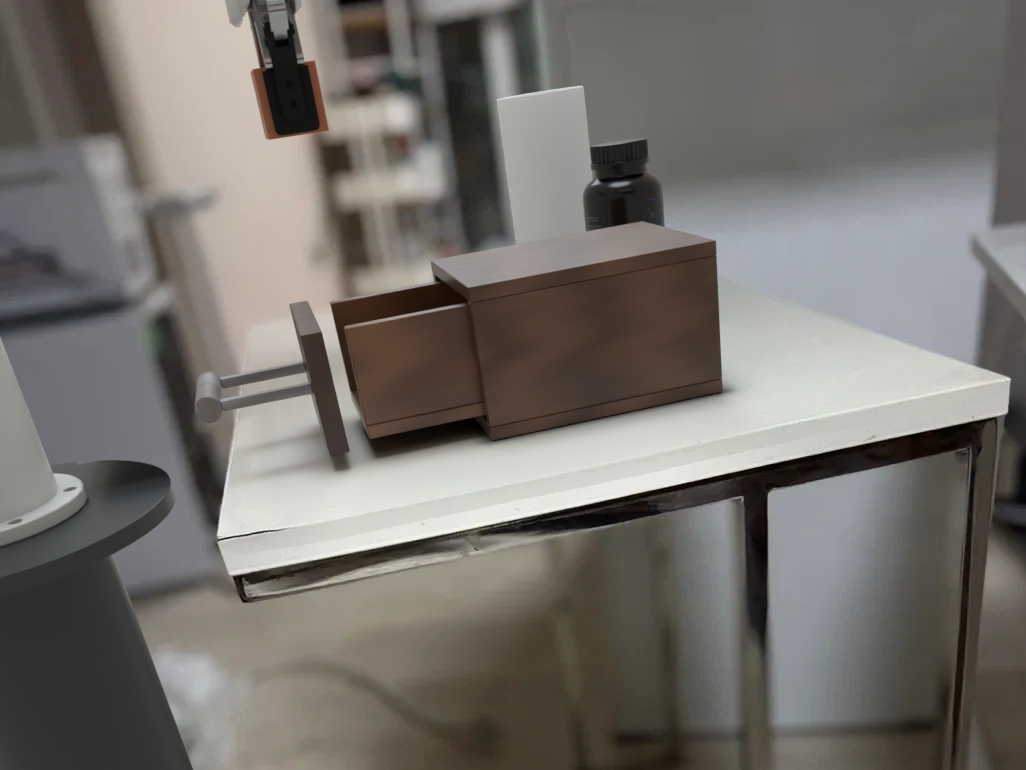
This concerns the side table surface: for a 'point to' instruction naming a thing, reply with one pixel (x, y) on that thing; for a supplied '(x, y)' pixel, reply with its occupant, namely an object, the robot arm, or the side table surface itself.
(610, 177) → the supplement bottle
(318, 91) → the block
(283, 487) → the side table surface
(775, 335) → the side table surface
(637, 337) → the cabinet
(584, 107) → the tall white panel
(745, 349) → the side table surface
